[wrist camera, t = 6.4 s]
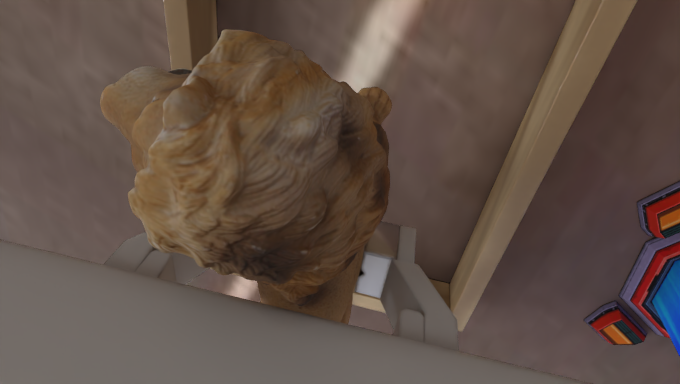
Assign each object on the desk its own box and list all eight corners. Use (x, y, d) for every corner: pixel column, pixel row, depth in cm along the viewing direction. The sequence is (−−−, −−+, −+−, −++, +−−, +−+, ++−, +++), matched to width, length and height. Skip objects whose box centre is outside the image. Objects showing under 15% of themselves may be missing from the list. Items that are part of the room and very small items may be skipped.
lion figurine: (219, -24, 12) (-53, 103, 5) (400, -33, 12) (370, 102, 4) (288, 300, 21) (221, 515, 14) (395, 308, 20) (382, 542, 13)
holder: (212, 236, 27) (193, 264, 25) (181, -177, 15) (140, -187, 13) (461, 298, 25) (462, 332, 23) (654, -100, 13) (690, -98, 11)
